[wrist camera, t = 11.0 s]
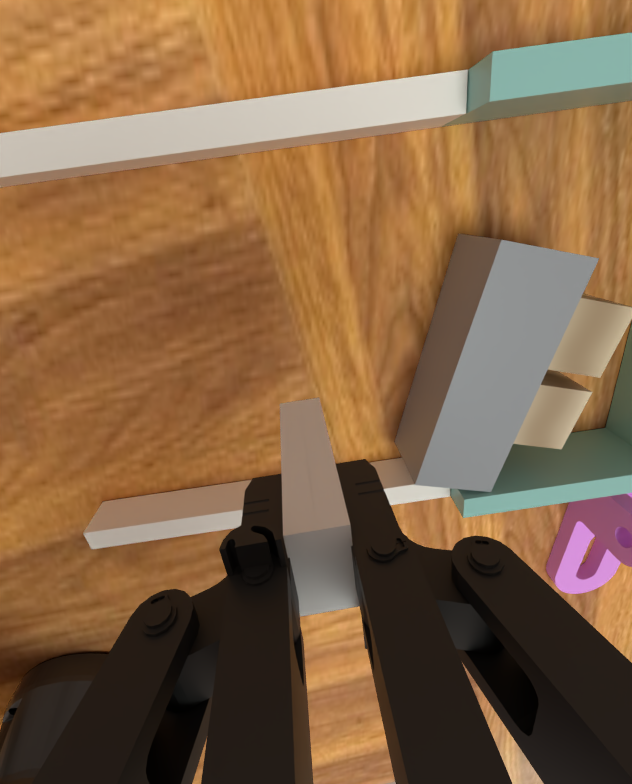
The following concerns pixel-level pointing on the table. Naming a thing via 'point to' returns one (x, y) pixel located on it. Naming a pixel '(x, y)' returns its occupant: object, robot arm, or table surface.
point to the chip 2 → (553, 412)
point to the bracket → (611, 547)
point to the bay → (628, 408)
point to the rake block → (486, 357)
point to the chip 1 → (591, 336)
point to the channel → (212, 140)
